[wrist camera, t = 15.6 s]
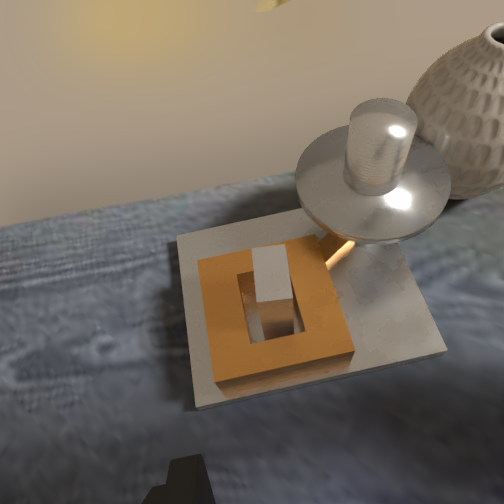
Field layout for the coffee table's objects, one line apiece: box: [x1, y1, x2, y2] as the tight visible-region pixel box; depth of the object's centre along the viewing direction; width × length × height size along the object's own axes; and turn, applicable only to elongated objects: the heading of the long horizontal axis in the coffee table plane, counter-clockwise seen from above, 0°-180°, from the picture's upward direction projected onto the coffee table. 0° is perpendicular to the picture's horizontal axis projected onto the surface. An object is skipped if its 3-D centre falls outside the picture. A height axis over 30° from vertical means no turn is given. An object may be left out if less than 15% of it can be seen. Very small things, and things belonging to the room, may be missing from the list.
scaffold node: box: [176, 98, 451, 411], centre depth 34 cm, size 26×20×16 cm
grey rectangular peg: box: [251, 244, 294, 341], centre depth 33 cm, size 2×4×10 cm, turn 5°
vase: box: [406, 22, 504, 199], centre depth 38 cm, size 13×13×17 cm
